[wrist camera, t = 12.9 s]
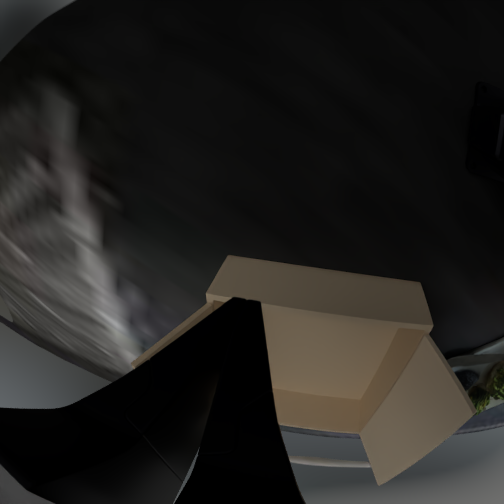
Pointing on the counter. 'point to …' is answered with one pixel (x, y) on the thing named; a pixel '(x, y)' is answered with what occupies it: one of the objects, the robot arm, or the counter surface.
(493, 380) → the salad plate
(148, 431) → the robot arm
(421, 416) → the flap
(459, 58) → the counter surface
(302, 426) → the carton
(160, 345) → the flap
